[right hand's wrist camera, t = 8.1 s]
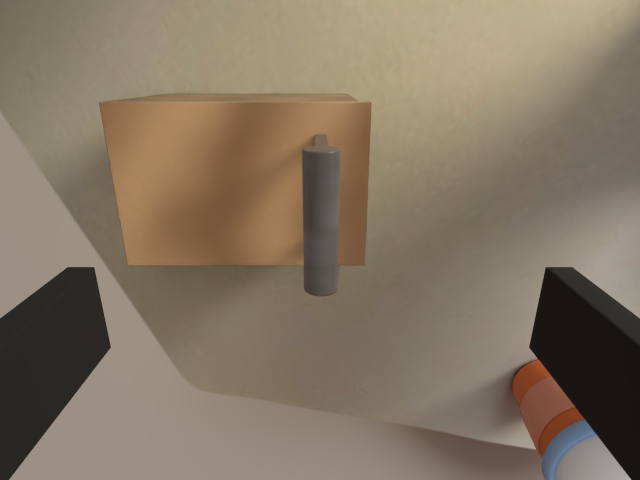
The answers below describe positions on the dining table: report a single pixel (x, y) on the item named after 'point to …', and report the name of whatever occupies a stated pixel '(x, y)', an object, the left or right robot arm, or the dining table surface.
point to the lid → (242, 183)
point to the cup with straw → (561, 430)
